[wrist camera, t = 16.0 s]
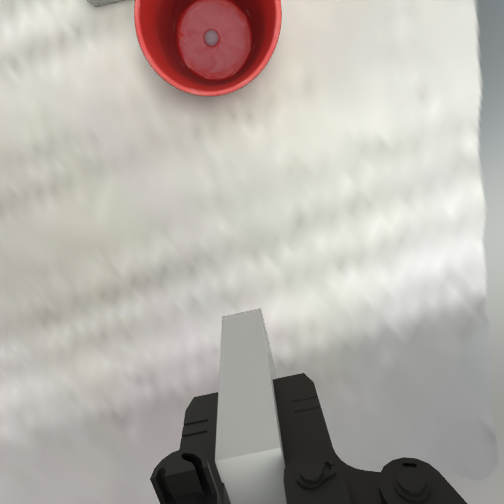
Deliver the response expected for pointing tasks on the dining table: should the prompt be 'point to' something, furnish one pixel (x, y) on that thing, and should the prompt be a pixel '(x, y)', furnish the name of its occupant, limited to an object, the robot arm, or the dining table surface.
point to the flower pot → (208, 41)
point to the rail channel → (102, 2)
